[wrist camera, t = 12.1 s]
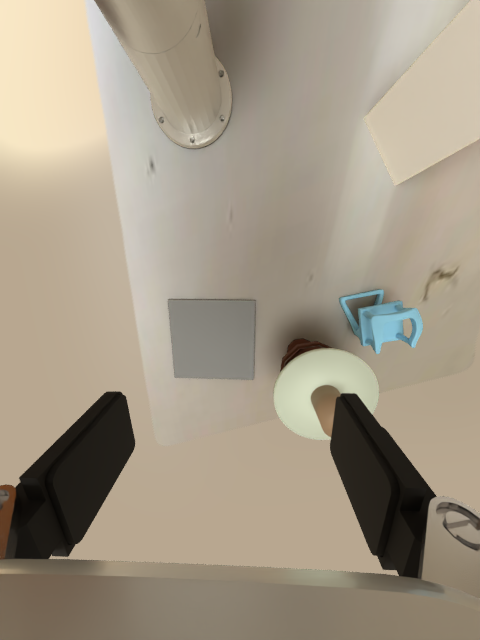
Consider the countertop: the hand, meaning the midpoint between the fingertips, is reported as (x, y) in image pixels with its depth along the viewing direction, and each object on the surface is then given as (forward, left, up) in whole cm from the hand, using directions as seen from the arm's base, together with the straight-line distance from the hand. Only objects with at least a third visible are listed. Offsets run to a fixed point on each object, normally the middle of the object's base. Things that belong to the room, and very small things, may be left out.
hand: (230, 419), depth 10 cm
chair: (+3, +22, -35) cm, 41 cm away
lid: (+11, +11, -20) cm, 25 cm away
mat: (+9, -7, -35) cm, 36 cm away
